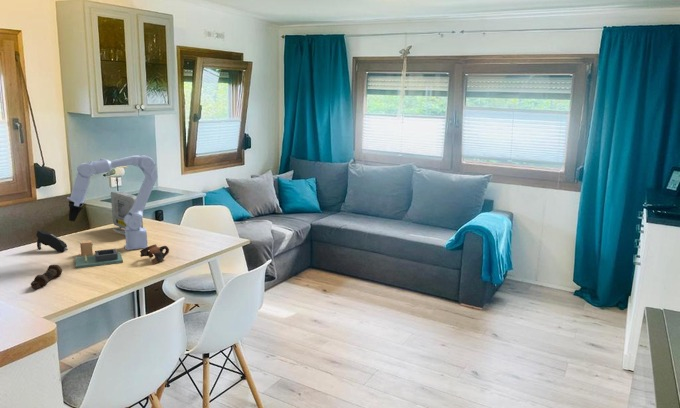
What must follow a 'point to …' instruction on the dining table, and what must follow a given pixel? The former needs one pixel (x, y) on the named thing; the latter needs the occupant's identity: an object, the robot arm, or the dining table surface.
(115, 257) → the header board
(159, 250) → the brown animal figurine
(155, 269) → the dining table surface
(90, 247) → the plug
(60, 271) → the bolt
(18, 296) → the dining table surface
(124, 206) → the network device
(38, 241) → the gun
